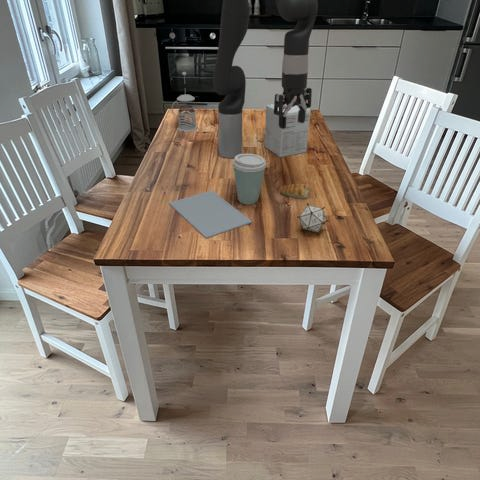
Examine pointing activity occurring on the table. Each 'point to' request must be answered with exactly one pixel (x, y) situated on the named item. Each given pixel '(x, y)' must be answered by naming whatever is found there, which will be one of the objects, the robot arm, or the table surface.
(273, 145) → the supplement box
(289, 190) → the pastry
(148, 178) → the table surface
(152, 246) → the table surface
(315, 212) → the game die
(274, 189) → the table surface
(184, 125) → the french press
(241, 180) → the disposable coffee cup
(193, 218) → the mat
